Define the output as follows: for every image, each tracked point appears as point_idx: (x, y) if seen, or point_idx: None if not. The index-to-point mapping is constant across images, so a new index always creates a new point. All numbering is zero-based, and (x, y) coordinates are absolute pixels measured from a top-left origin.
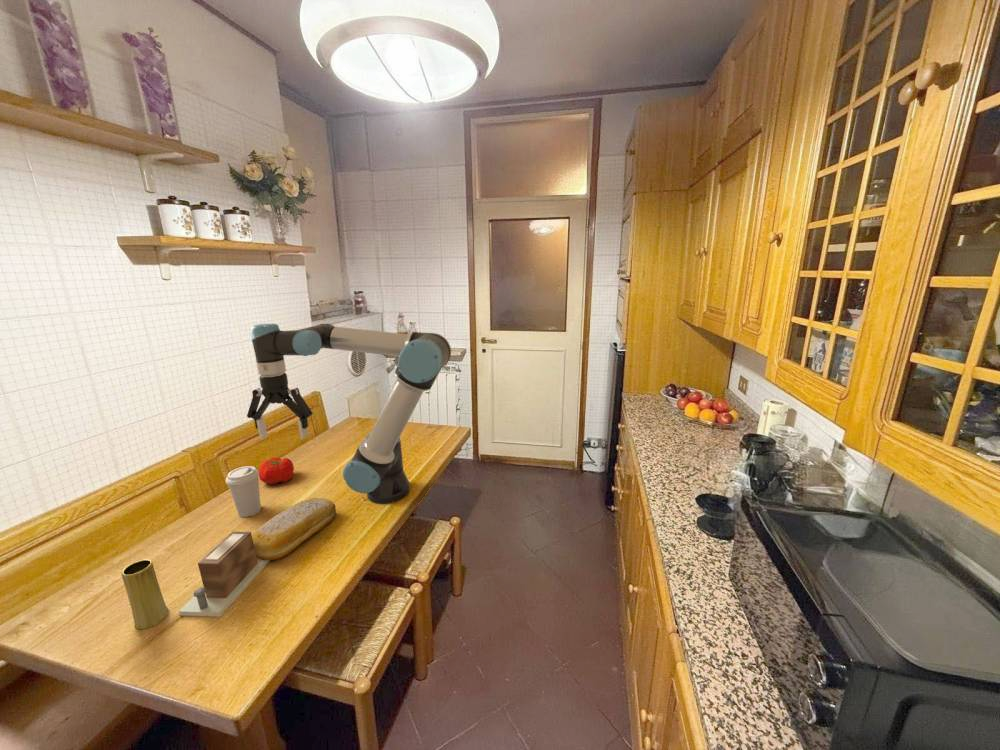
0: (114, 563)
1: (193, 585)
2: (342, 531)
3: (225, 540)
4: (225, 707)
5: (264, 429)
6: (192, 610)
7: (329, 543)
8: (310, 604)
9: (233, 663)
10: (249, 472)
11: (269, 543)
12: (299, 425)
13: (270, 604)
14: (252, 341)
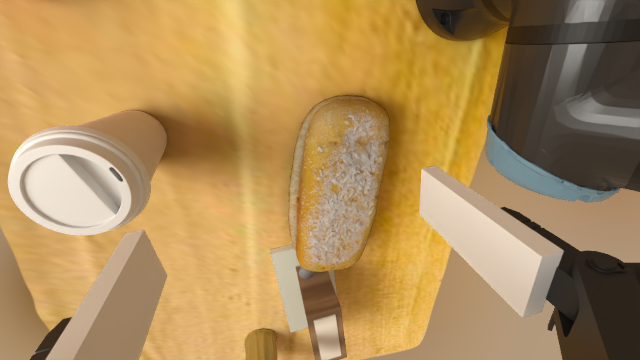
0: (53, 320)
1: (257, 301)
2: (410, 152)
3: (313, 331)
4: (409, 348)
5: (129, 290)
6: (306, 327)
7: (402, 185)
8: (428, 273)
9: (391, 331)
10: (85, 161)
11: (349, 266)
12: (489, 276)
13: (383, 286)
14: None
